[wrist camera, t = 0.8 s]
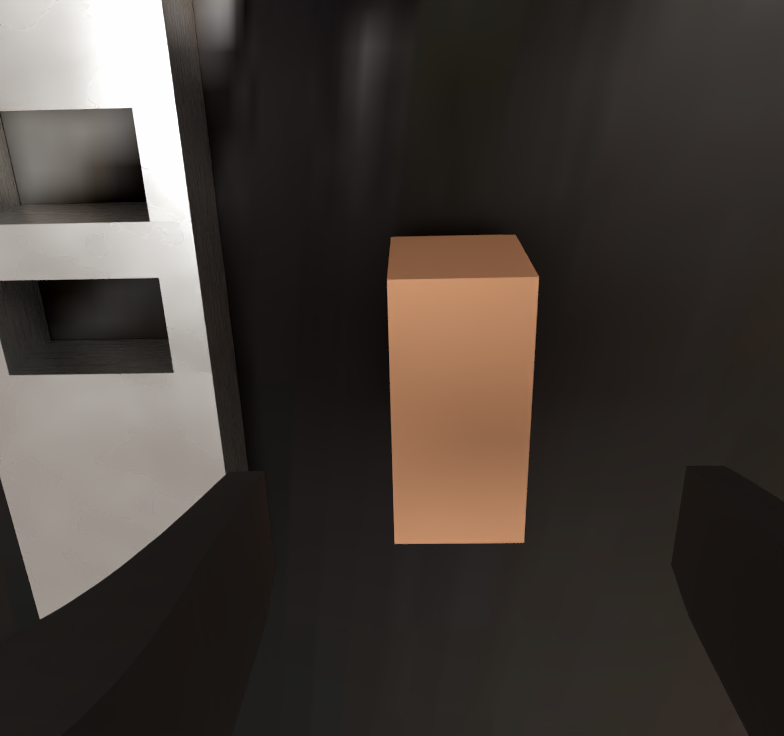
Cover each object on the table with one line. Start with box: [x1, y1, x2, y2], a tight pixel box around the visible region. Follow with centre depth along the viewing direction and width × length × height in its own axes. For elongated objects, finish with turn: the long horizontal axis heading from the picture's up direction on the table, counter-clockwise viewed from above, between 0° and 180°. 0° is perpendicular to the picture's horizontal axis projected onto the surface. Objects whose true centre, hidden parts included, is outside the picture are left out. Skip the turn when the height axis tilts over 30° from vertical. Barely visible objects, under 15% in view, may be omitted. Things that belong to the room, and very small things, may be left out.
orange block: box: [387, 235, 539, 544], centre depth 19 cm, size 3×6×6 cm, turn 1°
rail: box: [0, 0, 249, 619], centre depth 19 cm, size 6×24×2 cm, turn 1°
